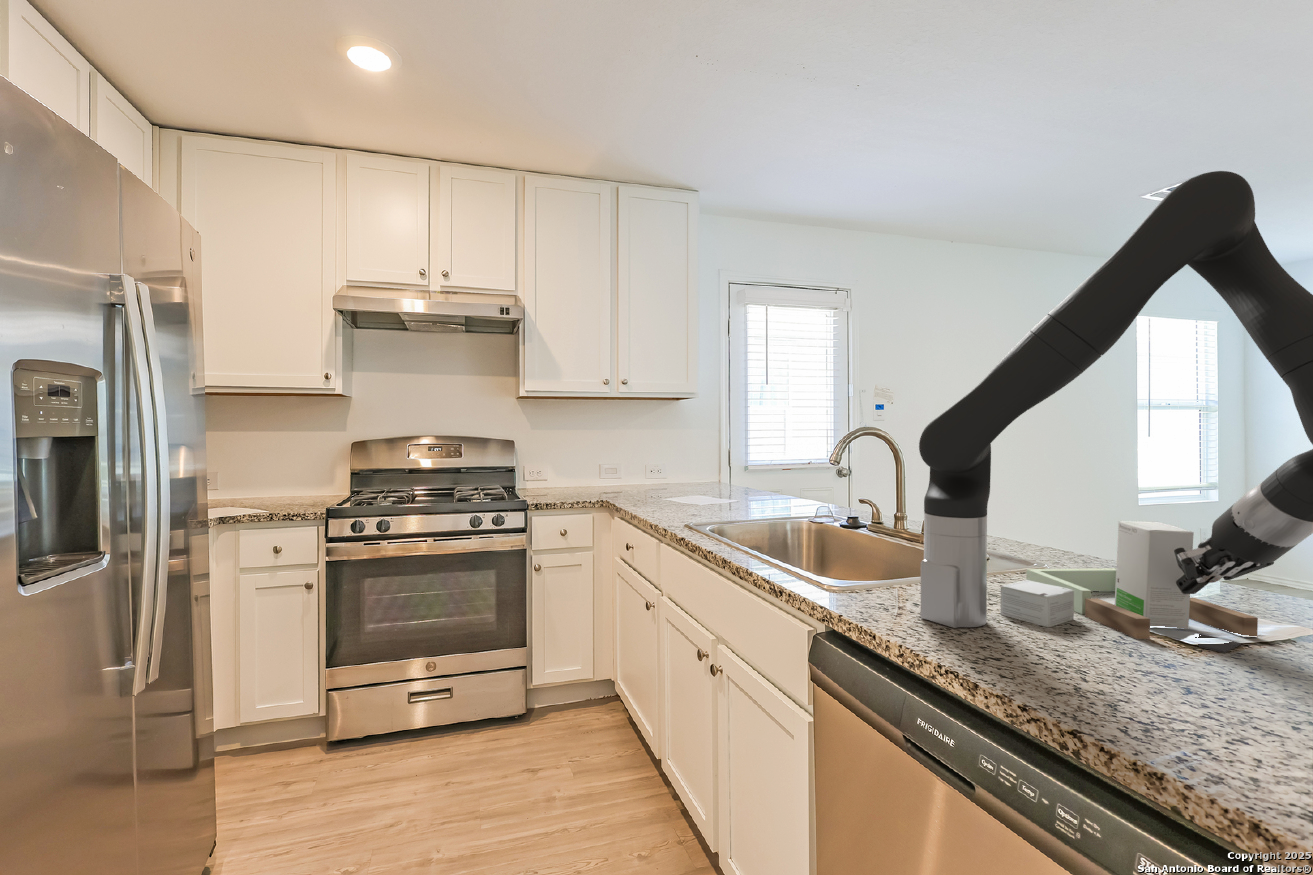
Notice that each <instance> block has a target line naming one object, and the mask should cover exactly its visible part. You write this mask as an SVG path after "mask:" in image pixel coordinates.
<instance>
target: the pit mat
mask: <svg viewBox="0 0 1313 875" xmlns="http://www.w3.org/2000/svg"><path fill="white" fill-rule="evenodd" d="M1200 635H1201V636H1200ZM1195 638H1197V637H1195ZM1198 638H1218V637H1217V636H1213V635H1208V634H1203V633H1200V634H1199V637H1198ZM1231 641H1232V642H1229V643H1224V644H1198V646H1199V647H1198V648H1202V649H1206V650H1209V651H1214V652H1217V653H1223V654H1226V653H1227V652H1229V651H1232V650H1233V649H1236V648H1237V647H1239V646H1241V642H1239V641H1234V640H1231Z"/></svg>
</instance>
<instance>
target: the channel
mask: <svg viewBox="0 0 1313 875" xmlns="http://www.w3.org/2000/svg"><path fill="white" fill-rule="evenodd" d="M1084 617H1085V618H1088V619H1089V620H1093V621H1095V622H1096V623H1099V624H1101V625H1104V626H1106V627H1107V628H1110V629H1113V630H1114V631H1117V632H1118V633H1122V634H1123V635H1126V636H1127V637H1128V636H1129V637H1131V638H1132V639H1135V640H1150V639H1151V635H1150V634H1151V632H1150V631H1151V628H1150V619H1149V618H1147V617H1144V616H1141V615H1139V614H1136V613H1134V612H1131V611H1129V610H1126V609H1124V608H1121V607H1118V606H1116V605H1115V604H1113V603H1110V602H1108V601H1105V600H1103V599H1100V598H1095V597H1094V598H1093V597H1091V598H1085V614H1084ZM1189 618H1190V619H1189V620H1192V619H1193V621H1195V622H1198V621H1199V622H1198V623H1200V622H1201V624H1203V625H1207V626H1209V625H1211V626H1210V627H1212V626H1213V627H1212V628H1214V627H1216V628H1215V629H1217V628H1219V629H1218V630H1220V629H1224V630H1227V631H1229V632H1233V633H1238V634H1241V635H1249V636H1257V637H1258V629H1259V628H1258V626H1259V625H1258V622H1259V620H1258V619H1259V617H1256V616H1254V615H1251V614H1247V613H1244V612H1240V611H1238V610H1233V609H1232V608H1228V607H1225V606H1221V605H1219V604H1216V603H1212V602H1209V601H1207V600H1203V599H1199V598H1197V597H1190V607H1189Z"/></svg>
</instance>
